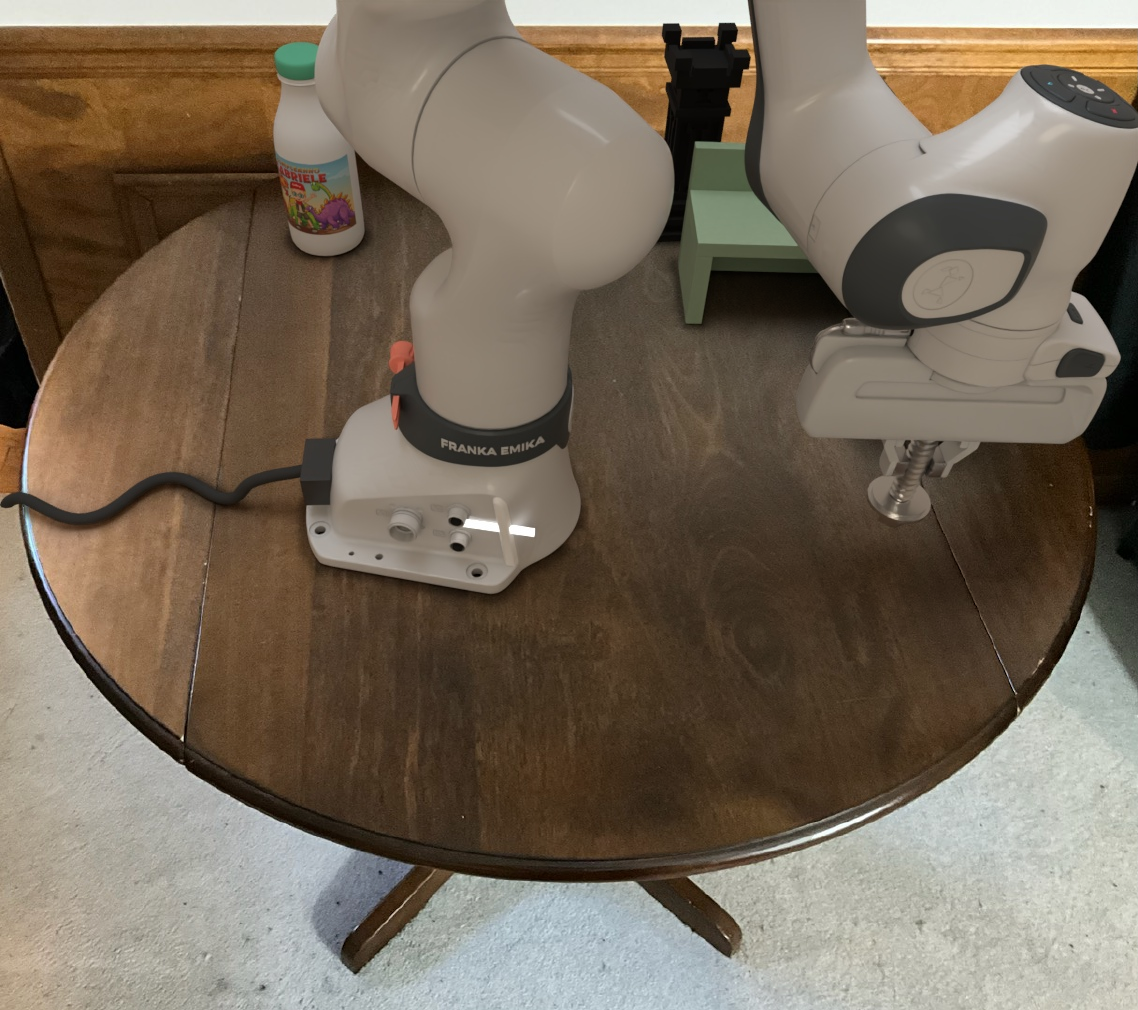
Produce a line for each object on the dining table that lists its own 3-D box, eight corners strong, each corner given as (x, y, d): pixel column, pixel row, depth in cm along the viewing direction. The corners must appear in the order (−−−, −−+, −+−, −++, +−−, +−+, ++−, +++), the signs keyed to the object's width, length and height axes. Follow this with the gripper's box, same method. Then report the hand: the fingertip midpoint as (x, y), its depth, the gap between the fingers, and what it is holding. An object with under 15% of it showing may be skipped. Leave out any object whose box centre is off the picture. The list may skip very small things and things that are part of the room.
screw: (847, 504, 82) (895, 485, 84) (886, 547, 79) (934, 527, 81) (897, 379, 72) (949, 361, 74) (944, 423, 70) (997, 404, 71)
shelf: (685, 323, 103) (704, 200, 93) (677, 262, 110) (694, 141, 99) (904, 329, 104) (948, 207, 93) (883, 268, 111) (922, 148, 100)
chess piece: (639, 199, 117) (658, 21, 102) (709, 197, 118) (737, 20, 103) (651, 241, 112) (672, 60, 97) (723, 239, 113) (756, 59, 98)
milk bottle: (304, 212, 113) (271, 28, 98) (373, 220, 113) (351, 36, 98) (281, 253, 108) (243, 67, 93) (354, 262, 108) (327, 76, 93)
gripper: (831, 350, 65) (782, 499, 75) (1146, 360, 66) (1056, 505, 76) (812, 288, 69) (768, 437, 79) (1108, 299, 70) (1027, 444, 81)
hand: (912, 470), depth 78 cm, fingers closed on screw, 2 cm apart
